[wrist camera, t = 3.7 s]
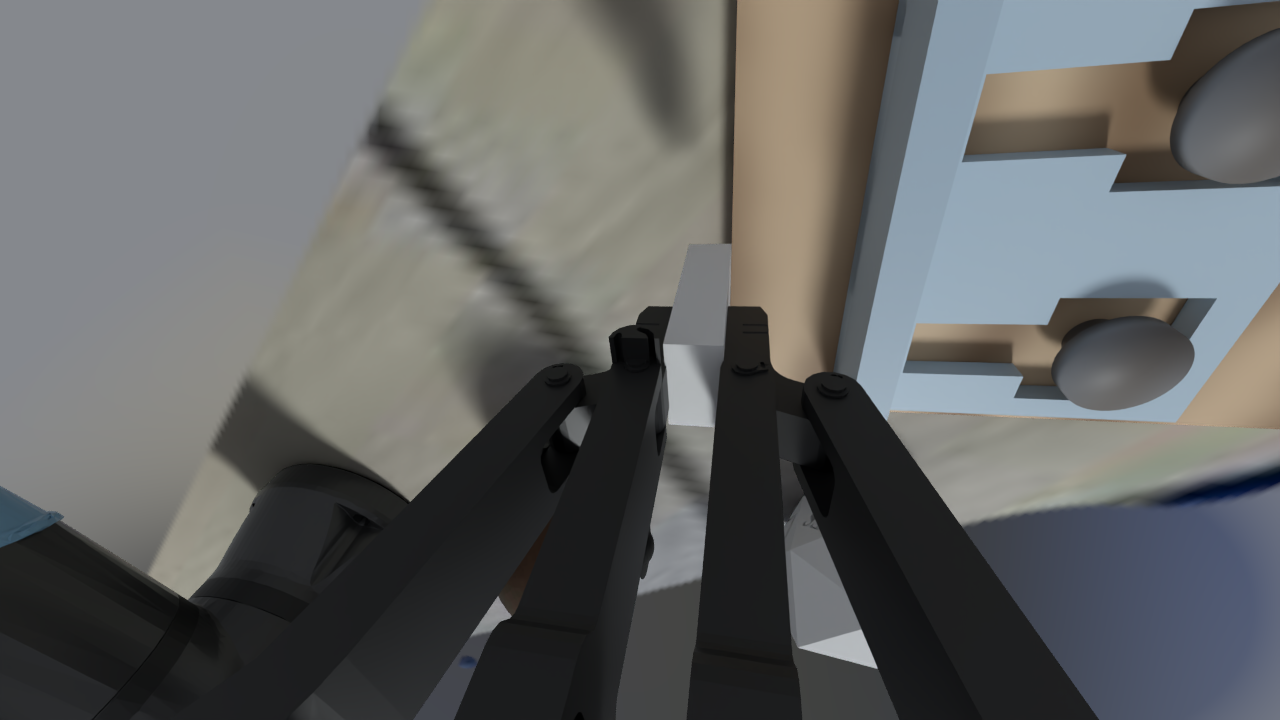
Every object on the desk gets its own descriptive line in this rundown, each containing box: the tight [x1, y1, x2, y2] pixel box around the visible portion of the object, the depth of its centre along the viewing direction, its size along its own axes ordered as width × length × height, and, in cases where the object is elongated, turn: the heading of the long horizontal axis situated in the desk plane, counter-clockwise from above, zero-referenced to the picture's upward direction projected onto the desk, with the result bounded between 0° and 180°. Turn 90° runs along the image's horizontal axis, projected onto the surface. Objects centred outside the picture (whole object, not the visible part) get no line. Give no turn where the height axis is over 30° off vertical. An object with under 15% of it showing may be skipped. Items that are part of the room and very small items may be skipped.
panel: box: [833, 0, 1280, 423], centre depth 17 cm, size 14×16×4 cm
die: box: [784, 496, 878, 669], centre depth 28 cm, size 8×9×10 cm
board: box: [730, 0, 1280, 429], centre depth 18 cm, size 24×18×4 cm
